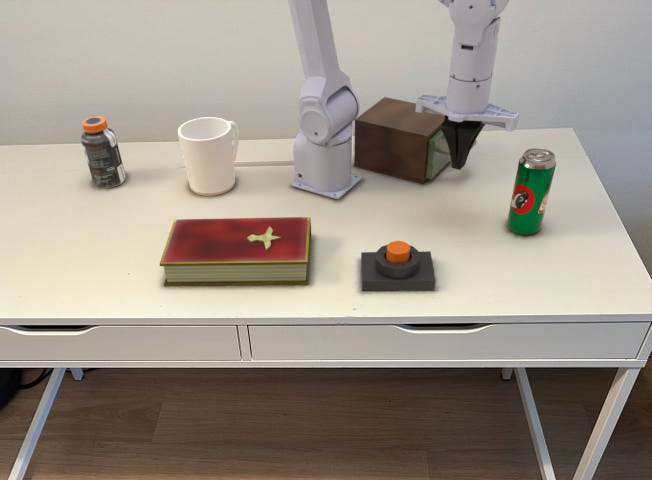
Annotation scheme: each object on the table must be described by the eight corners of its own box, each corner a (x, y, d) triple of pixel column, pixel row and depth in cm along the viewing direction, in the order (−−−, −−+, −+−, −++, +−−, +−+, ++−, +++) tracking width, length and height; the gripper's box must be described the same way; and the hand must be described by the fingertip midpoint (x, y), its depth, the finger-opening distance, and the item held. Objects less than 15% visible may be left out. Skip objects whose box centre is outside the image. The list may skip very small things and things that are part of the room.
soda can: (541, 237, 99) (559, 164, 91) (506, 235, 100) (521, 162, 92) (539, 219, 103) (556, 147, 94) (505, 217, 104) (519, 145, 95)
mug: (205, 203, 112) (196, 146, 105) (178, 184, 117) (167, 128, 110) (257, 180, 117) (251, 124, 110) (228, 163, 122) (221, 108, 115)
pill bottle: (133, 177, 120) (118, 116, 112) (110, 191, 117) (93, 130, 109) (109, 170, 123) (93, 110, 115) (86, 184, 119) (68, 123, 111)
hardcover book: (179, 239, 104) (174, 216, 102) (311, 237, 103) (310, 213, 100) (164, 286, 96) (159, 262, 93) (308, 284, 94) (307, 260, 91)
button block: (361, 290, 92) (362, 270, 90) (361, 261, 97) (361, 241, 95) (434, 290, 92) (436, 269, 89) (429, 260, 97) (431, 240, 94)
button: (386, 264, 91) (387, 253, 90) (385, 251, 94) (386, 240, 92) (410, 264, 91) (411, 253, 90) (408, 250, 93) (409, 240, 92)
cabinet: (449, 158, 119) (454, 111, 113) (423, 184, 113) (427, 136, 107) (382, 142, 125) (384, 96, 119) (354, 165, 118) (354, 119, 113)
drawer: (477, 161, 115) (482, 124, 111) (454, 185, 110) (459, 147, 105) (392, 141, 123) (394, 105, 118) (366, 162, 117) (368, 125, 112)
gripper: (408, 75, 90) (402, 166, 100) (512, 94, 84) (495, 189, 93) (431, 58, 94) (423, 147, 104) (531, 74, 88) (513, 168, 97)
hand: (458, 166), depth 99 cm, fingers closed
